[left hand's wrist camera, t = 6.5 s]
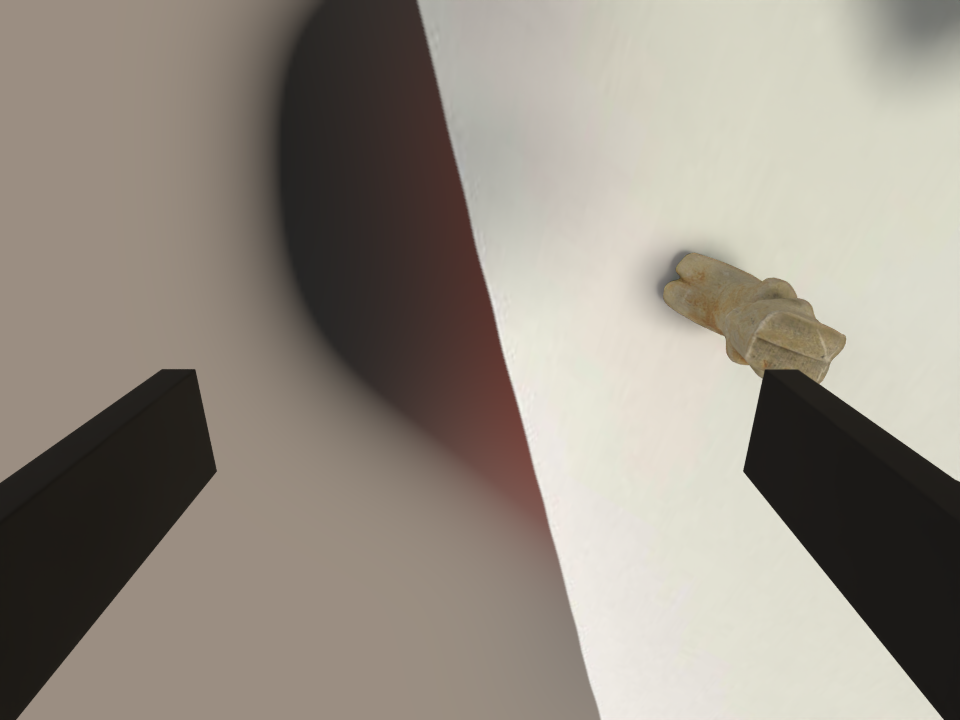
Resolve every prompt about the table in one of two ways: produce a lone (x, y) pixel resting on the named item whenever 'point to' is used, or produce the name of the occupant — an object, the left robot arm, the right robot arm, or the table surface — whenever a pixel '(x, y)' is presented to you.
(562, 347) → the table surface
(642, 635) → the table surface
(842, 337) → the sculpture
